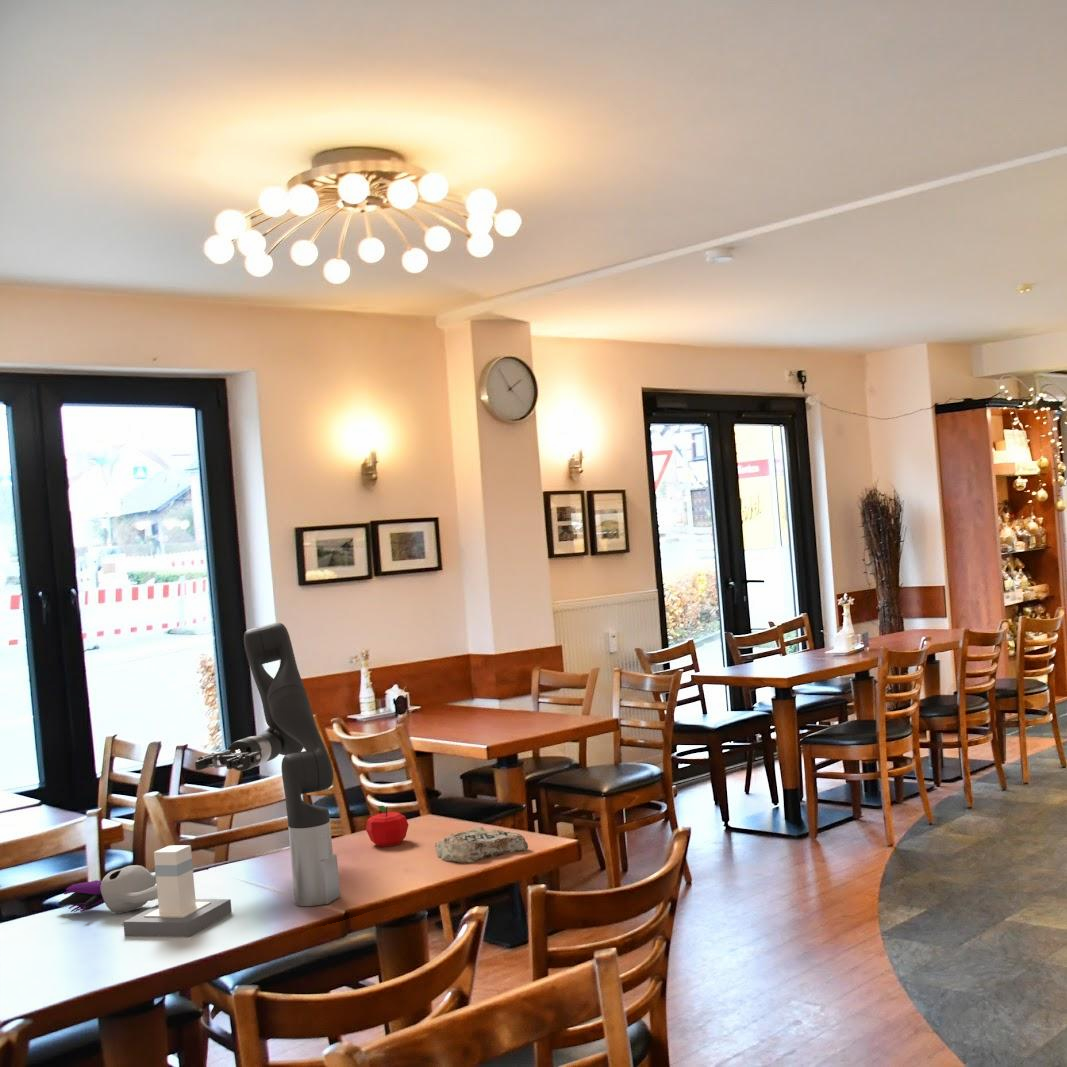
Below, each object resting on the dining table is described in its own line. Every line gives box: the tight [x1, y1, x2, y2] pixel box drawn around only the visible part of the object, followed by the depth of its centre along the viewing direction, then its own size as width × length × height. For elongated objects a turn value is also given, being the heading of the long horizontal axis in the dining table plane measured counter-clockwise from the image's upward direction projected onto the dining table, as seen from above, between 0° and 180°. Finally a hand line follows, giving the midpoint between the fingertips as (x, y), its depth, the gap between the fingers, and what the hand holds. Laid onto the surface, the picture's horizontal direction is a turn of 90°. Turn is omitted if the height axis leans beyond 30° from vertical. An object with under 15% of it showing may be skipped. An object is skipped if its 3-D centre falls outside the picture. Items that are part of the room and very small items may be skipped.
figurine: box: [57, 864, 158, 914], centre depth 275 cm, size 16×10×30 cm
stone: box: [434, 826, 529, 864], centre depth 301 cm, size 19×6×25 cm
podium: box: [122, 898, 232, 938], centre depth 259 cm, size 16×16×3 cm
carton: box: [153, 844, 196, 913], centre depth 259 cm, size 6×6×13 cm
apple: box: [365, 805, 409, 848], centre depth 317 cm, size 11×11×10 cm
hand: (212, 765), depth 283 cm, fingers open, 8 cm apart
